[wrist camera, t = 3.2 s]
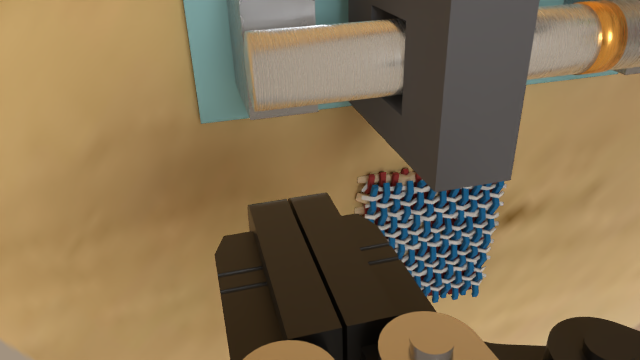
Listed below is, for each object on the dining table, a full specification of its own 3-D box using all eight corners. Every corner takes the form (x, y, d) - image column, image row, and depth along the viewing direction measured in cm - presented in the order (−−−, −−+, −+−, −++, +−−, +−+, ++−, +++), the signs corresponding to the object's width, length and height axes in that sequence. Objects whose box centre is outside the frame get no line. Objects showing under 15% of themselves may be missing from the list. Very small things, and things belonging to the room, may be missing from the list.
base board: (200, 117, 28) (201, 124, 27) (173, -66, 24) (173, -65, 23) (606, 69, 34) (619, 74, 33) (642, -86, 30) (659, -86, 29)
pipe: (235, 82, 27) (262, 148, 20) (224, -20, 25) (249, 10, 17) (598, 44, 32) (728, 86, 24) (617, -45, 29) (768, -29, 22)
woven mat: (499, 155, 36) (517, 168, 34) (472, 280, 40) (485, 297, 39) (353, 165, 33) (364, 180, 31) (342, 298, 38) (351, 317, 36)
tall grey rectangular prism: (348, 101, 27) (434, 192, 18) (348, -46, 24) (453, -19, 15) (402, 95, 28) (510, 180, 19) (409, -50, 24) (544, -25, 16)
